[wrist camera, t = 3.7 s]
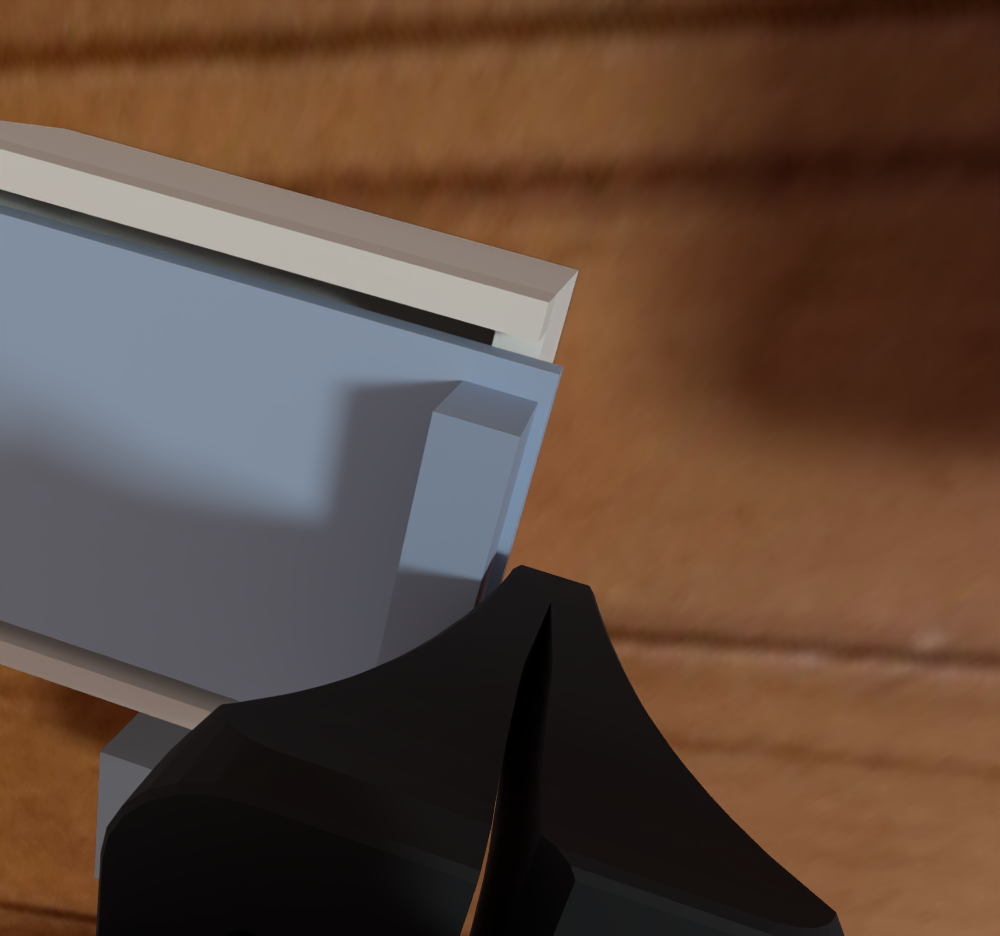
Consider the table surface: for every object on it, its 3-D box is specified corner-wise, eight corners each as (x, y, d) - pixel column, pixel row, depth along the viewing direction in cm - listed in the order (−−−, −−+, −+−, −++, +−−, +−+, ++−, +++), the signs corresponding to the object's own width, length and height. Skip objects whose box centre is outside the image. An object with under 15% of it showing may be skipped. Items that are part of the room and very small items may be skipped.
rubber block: (332, 778, 22) (249, 933, 17) (208, 736, 22) (94, 877, 18) (354, 672, 20) (270, 810, 16) (221, 628, 21) (100, 752, 16)
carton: (472, 649, 19) (413, 805, 14) (59, 516, 20) (-132, 618, 15) (578, 270, 16) (548, 302, 11) (66, 129, 17) (-184, 97, 12)
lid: (454, 749, 15) (420, 848, 12) (-68, 574, 15) (-188, 637, 13) (563, 366, 12) (544, 405, 9) (-92, 178, 12) (-251, 172, 10)
